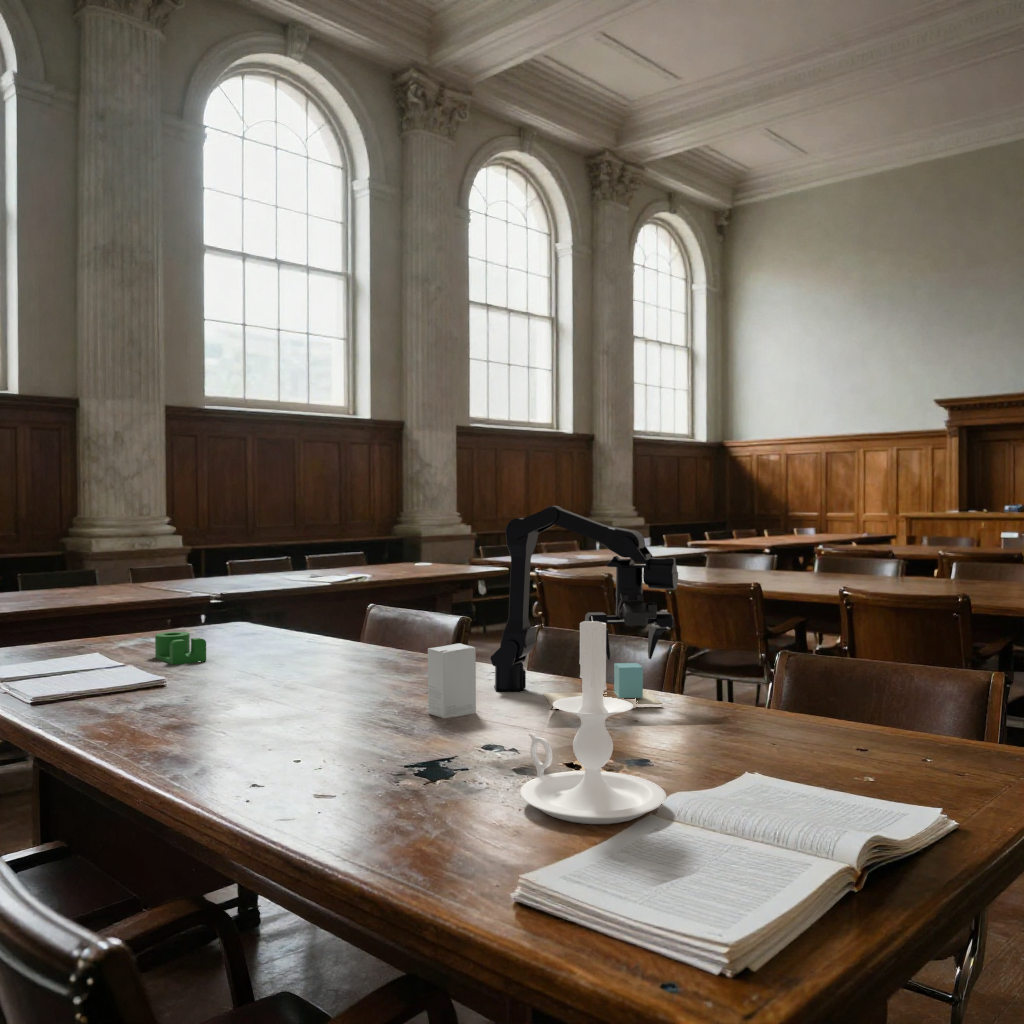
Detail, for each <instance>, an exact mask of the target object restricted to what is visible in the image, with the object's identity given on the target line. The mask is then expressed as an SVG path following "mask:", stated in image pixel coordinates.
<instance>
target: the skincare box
mask: <svg viewBox="0 0 1024 1024" xmlns="http://www.w3.org/2000/svg"><path fill="white" fill-rule="evenodd" d="M476 649H477V648H476V647H474V646H472V645H467V644H463V643H461V642H459V643H454V644H447V645H443V646H436V647H430V648H429V647H428V648H427V704H428V705H427V707H428V708H427V710H428V714H429V715H432V716H436V717H439V718H443V719H448V718H454V717H455V718H456V717H460V716H461V717H462V716H467V715H473V714H477V694H476V693H477V690H476V689H477V688H476V687H477V686H476V685H477V684H476V683H477V679H476V678H477V677H476V674H477V672H476V671H477V669H476V668H477V666H476V665H477V663H476V655H477V654H476V652H477V651H476Z"/></svg>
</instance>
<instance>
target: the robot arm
mask: <svg viewBox="0 0 1024 1024" xmlns="http://www.w3.org/2000/svg"><path fill="white" fill-rule="evenodd" d="M553 526H557V527H561V528H563V529H566V530H568V531H570V532H573V533H576V534H578V535H580V536H584V537H585V538H588V539H591V540H593V541H596V542H598V543H599V544H602V545H603V546H604V547H605V548H607V550H610V551H611V552H613V553H615V554H616V555H615V556H613V557H612V559H611V560H610V561H609V562H608V563H607V564H606V567H608V568H615V571H616V572H615V577H616V578H615V583H616V584H615V585H616V586H615V615H607V614H606V613H605V612H603V611H601V612H600V611H598V612H597V611H596V612H595V611H594V612H587V613H586V614H585V617H584V621H592V619H593V621H598V622H602V623H606V626H607V625H626V626H627V627H633V626H642V627H646V626H648V639H647V656H648V660H652V659H653V658H652V657H653V655H654V651H655V649H656V646H657V644H658V640H659V639H660V637H661V635H662V634H663V633H664V632H667V631H668V630H669V628H674V627H675V618H674V617H675V616H674V615H673V614H672V613H670V612H667V611H658V610H657V609H658V607H657V606H658V605H657V602H653V601H652V602H651V601H650V602H646V603H645V600H644V593H643V584H645V585H646V586H647V587H648V589H651V590H676V589H677V588H678V584H679V572H678V569H677V564H676V563H677V562H676V557H668V558H667V557H665V558H664V557H663V558H661V557H660V558H659V557H657V558H656V557H654V556H653V554H652V553H651V551H650V550H649V549H648V547H647V546H646V540H645V538H644V536H643V534H642V533H641V532H639V531H637V530H635V529H629V528H625V527H617V526H611V525H606V524H604V523H600V522H598V521H596V520H593V519H590V518H589V517H586V516H582V515H580V514H578V513H574V512H572V511H570V510H566V509H564V508H562V507H561V506H559V505H549V506H547V507H545V509H542V510H540V511H537V512H536V513H534V514H533V513H532V514H530V515H528V516H526V517H519V518H517V517H516V518H513V519H511V520H510V521H509V522H508V523H507V524H506V526H505V529H504V531H505V540H506V547H507V549H508V552H509V555H510V571H509V573H510V576H509V578H510V579H509V594H508V595H509V598H508V618H507V621H506V624H505V626H504V629H503V631H502V636H501V640H500V647H498V649H497V650H496V651H495V652H494V653H493V654H492V655H491V656H490V661H491V664H492V666H493V667H494V685H493V689H494V691H495V692H496V693H521V692H520V691H524V692H525V689H526V687H527V686H526V683H527V682H526V681H527V680H526V679H527V678H526V674H527V673H526V670H525V668H524V662H525V661H526V659H527V656H528V655H529V654H530V653H531V652H532V651H533V649H534V645H537V641H536V640H537V639H536V636H537V635H536V633H537V628H538V627H537V626H531V623H530V619H529V608H530V607H529V606H530V603H529V602H530V587H531V586H530V583H531V566H532V565H531V563H532V562H531V561H532V556H533V553H534V551H535V549H536V545H537V542H538V538H539V534H540V533H542V532H544V531H546V530H548V529H550V528H551V527H553ZM620 557H621V558H625V559H621V558H620ZM626 558H630V559H626ZM640 563H641V564H640ZM644 563H645V564H644ZM591 616H592V619H591ZM609 633H610V631H609V629H608V628H607V627H606V660H608V661H610V659H611V651H610V639H609V635H610V634H609Z"/></svg>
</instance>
